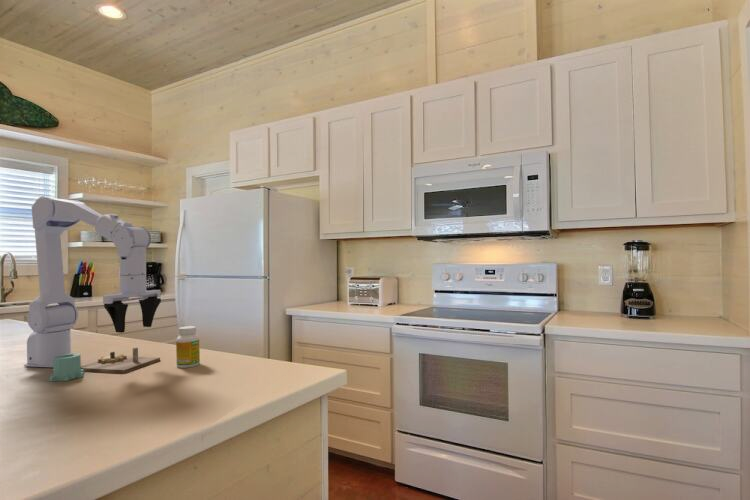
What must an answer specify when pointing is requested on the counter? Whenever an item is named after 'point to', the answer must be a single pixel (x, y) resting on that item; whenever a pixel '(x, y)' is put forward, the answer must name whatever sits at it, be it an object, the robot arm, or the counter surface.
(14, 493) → the counter surface
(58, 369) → the gear
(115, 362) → the gear board
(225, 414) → the counter surface
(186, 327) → the supplement bottle
